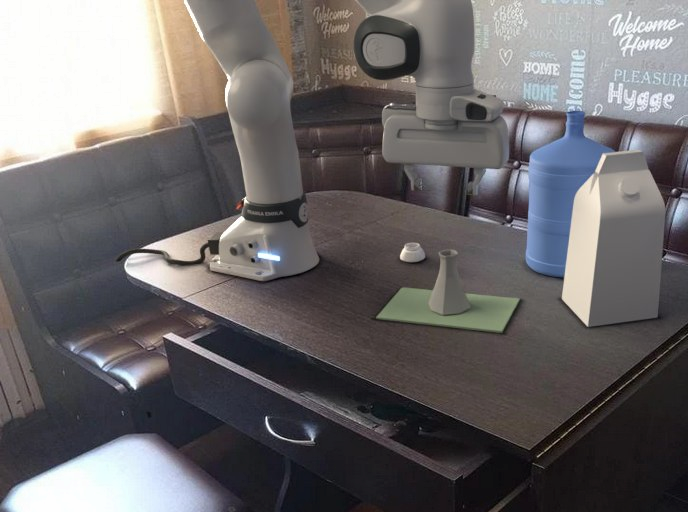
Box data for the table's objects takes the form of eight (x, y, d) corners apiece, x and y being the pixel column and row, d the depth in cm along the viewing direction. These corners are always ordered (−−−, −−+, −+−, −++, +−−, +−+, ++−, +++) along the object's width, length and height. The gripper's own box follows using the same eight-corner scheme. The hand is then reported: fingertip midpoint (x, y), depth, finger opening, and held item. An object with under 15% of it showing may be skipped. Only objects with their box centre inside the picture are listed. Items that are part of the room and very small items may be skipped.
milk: (626, 290, 136) (642, 140, 123) (657, 317, 126) (678, 157, 113) (561, 298, 135) (570, 147, 121) (587, 327, 125) (600, 166, 112)
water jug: (625, 271, 143) (641, 115, 129) (548, 285, 140) (555, 126, 126) (583, 244, 156) (593, 99, 142) (512, 256, 153) (515, 110, 139)
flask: (421, 304, 135) (419, 250, 130) (457, 295, 138) (457, 241, 133) (440, 319, 130) (438, 263, 124) (478, 310, 132) (478, 255, 127)
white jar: (425, 254, 157) (400, 255, 157) (424, 240, 156) (399, 241, 156) (425, 263, 153) (400, 264, 153) (424, 249, 151) (399, 250, 152)
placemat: (376, 319, 132) (376, 316, 132) (402, 289, 143) (402, 287, 142) (502, 333, 125) (502, 331, 125) (519, 300, 135) (519, 298, 135)
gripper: (374, 105, 119) (377, 193, 126) (504, 109, 112) (500, 202, 119) (388, 97, 124) (391, 182, 131) (514, 101, 117) (510, 191, 124)
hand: (444, 192), depth 125 cm, fingers open, 8 cm apart
